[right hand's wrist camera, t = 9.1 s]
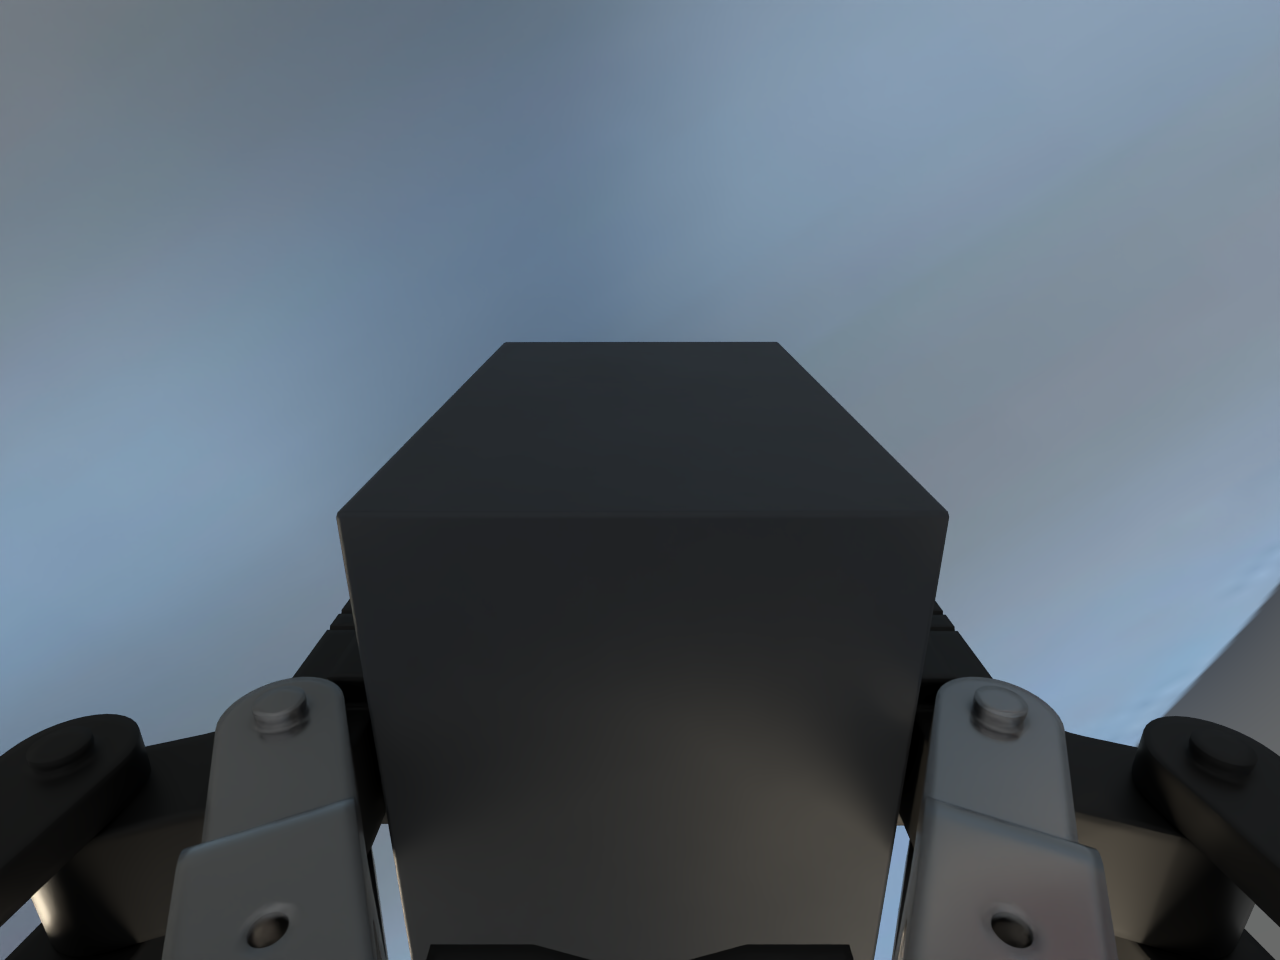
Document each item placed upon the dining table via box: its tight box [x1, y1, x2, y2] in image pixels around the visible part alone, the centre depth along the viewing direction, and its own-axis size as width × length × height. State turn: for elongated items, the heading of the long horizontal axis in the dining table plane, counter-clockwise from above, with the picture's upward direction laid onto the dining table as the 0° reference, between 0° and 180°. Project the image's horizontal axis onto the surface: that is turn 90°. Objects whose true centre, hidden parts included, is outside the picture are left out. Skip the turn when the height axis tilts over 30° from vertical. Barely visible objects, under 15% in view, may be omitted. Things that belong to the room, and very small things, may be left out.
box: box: [336, 342, 949, 960], centre depth 15 cm, size 22×6×9 cm, turn 0°
